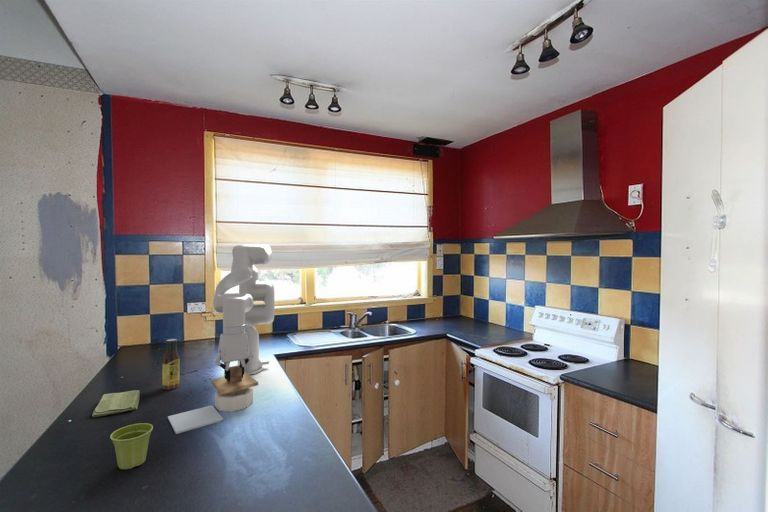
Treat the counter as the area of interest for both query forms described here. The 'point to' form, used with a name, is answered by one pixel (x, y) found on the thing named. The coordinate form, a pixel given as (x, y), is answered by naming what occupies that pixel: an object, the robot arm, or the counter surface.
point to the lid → (234, 381)
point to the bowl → (234, 400)
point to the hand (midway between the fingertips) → (234, 378)
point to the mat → (194, 419)
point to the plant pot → (131, 444)
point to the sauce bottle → (170, 366)
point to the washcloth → (117, 403)
